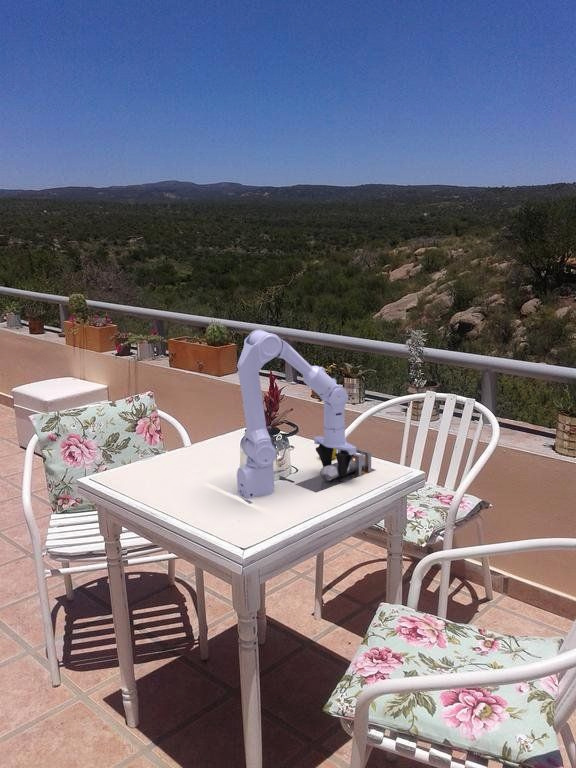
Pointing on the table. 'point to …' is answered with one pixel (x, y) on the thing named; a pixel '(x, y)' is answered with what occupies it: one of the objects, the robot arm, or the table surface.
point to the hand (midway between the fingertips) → (335, 473)
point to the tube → (333, 471)
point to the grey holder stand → (320, 484)
